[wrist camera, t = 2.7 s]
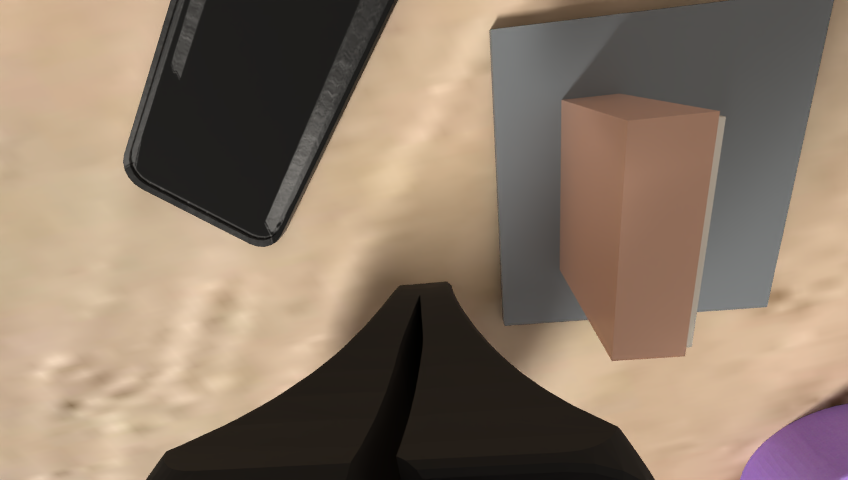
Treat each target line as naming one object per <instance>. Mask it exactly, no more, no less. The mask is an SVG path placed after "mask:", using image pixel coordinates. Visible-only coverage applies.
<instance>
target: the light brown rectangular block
mask: <svg viewBox="0 0 848 480" xmlns="http://www.w3.org/2000/svg"><path fill="white" fill-rule="evenodd" d="M725 120H726V117H725V116H720V111H717V110H711V109H705V108H699V107H694V106H688V105H682V104H677V103H671V102H665V101H660V100H654V99H648V98H642V97H637V96H631V95H625V94H611V95H602V96H593V97H584V98H574V99H565V100H561V193H560V271H561V273H562V275H563V276H564V278H565V280H566V282H567V283H568V285H569V287H570V289H571V290H572V292H573V294H574V296H575V297H576V299H577V301H578V303H579V304H580V306H581V308H582V310H583V311H584V313H585V315H586V317H587V318H588V320H589V322H590V324H591V325H592V327H593V329H594V331H595V332H596V334H597V336H598V338H599V339H600V341H601V343H602V345H603V346H604V348H605V350H606V352H607V353H608V355H609V357H610V359H611V360H612V361H618V360H633V359H649V358H665V357H680V356H685V352H686V347H692V342H693V335H694V328H695V321H696V315H697V308H698V301H699V295H700V288H701V281H702V274H703V268H704V261H705V254H706V248H707V241H708V234H709V227H710V221H711V214H712V207H713V201H714V194H715V187H716V180H717V174H718V167H719V160H720V154H721V147H722V140H723V134H724V127H725Z"/></svg>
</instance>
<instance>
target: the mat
mask: <svg viewBox="0 0 848 480" xmlns="http://www.w3.org/2000/svg"><path fill="white" fill-rule="evenodd" d="M833 2H834V0H729V1H721V2H713V3H704V4H696V5H688V6H680V7H672V8H663V9H655V10H647V11H639V12H631V13H622V14H614V15H606V16H598V17H590V18H581V19H573V20H565V21H557V22H549V23H540V24H532V25H524V26H516V27H508V28H500V29H491V30H490V51H491V72H492V94H493V115H494V137H495V158H496V179H497V201H498V222H499V244H500V265H501V286H502V308H503V321H504V325H505V326H508V325H522V324H536V323H550V322H564V321H578V320H588V318H587V317H586V315H585V313H584V311H583V310H582V308H581V306H580V304H579V303H578V301H577V299H576V297H575V296H574V294H573V292H572V290H571V289H570V287H569V285H568V283H567V282H566V280H565V278H564V276H563V275H562V273H561V271H560V193H561V100H565V99H574V98H584V97H593V96H602V95H611V94H625V95H631V96H637V97H642V98H648V99H654V100H660V101H665V102H671V103H677V104H682V105H688V106H694V107H699V108H705V109H711V110H717V111H720V116H725V117H726V120H725V127H724V134H723V140H722V147H721V154H720V160H719V167H718V174H717V180H716V187H715V194H714V201H713V207H712V214H711V221H710V227H709V234H708V241H707V248H706V254H705V261H704V268H703V274H702V281H701V288H700V295H699V301H698V308H697V312H704V311H718V310H732V309H746V308H760V307H767V304H768V300H769V295H770V291H771V286H772V281H773V277H774V272H775V268H776V263H777V259H778V254H779V249H780V245H781V240H782V236H783V231H784V227H785V222H786V217H787V213H788V208H789V204H790V199H791V195H792V190H793V185H794V181H795V176H796V172H797V167H798V162H799V158H800V153H801V149H802V144H803V140H804V135H805V130H806V126H807V121H808V117H809V112H810V108H811V103H812V98H813V94H814V89H815V85H816V80H817V75H818V71H819V66H820V62H821V57H822V53H823V48H824V43H825V39H826V34H827V30H828V25H829V21H830V16H831V11H832V7H833Z"/></svg>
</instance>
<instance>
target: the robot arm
mask: <svg viewBox="0 0 848 480" xmlns="http://www.w3.org/2000/svg"><path fill="white" fill-rule="evenodd" d="M146 480H655V479H654V478H653V476H652V474H651V473H650V471H649V470H648V468H647V467H646V465H645V464H644V462H643V461H642V459H641V458H640V456H639V455H638V453H637V452H636V450H635V449H634V448H633V446H632V445H631V443H630V442H629V441H628V439H627V438H626V436H625V435H624V434H623V432H622V431H621V430H620V428H618V427H617V426H615V425H613V424H611V423H609V422H607V421H604V420H602V419H600V418H598V417H596V416H594V415H592V414H590V413H588V412H586V411H583V410H581V409H579V408H577V407H575V406H573V405H571V404H569V403H568V402H566V401H564V400H562V399H561V398H559V397H557V396H556V395H554V394H552V393H550V392H549V391H547V390H545V389H544V388H542V387H541V386H539V385H538V384H537V383H535V382H534V381H532V380H531V379H530V378H528V377H527V376H525V375H524V374H523V373H521V372H520V371H519V370H517V369H516V368H515V367H514V366H513V365H511V364H510V363H509V362H508V361H507V360H506V359H505V358H504V357H502V356H501V355H500V354H499V353H498V352H497V351H496V350H495V349H494V348H493V347H492V346H491V345H490V344H489V343H488V341H487V340H486V339H485V338H484V337H483V336H482V335H481V333H480V332H479V331H478V330H477V329H476V327H475V326H474V325H473V323H472V322H471V321H470V319H469V318H468V316H467V315H466V314H465V312H464V311H463V309H462V308H461V306H460V304H459V302H458V301H457V299H456V297H455V295H454V293H453V290H452V286H451V285H450V284H449V283H448V282H438V283H426V284H413V285H401V286H399V287H398V288H397V289H396V290H395V291H394V293H393V294H392V295H391V296H390V297H389V299H388V300H387V301H386V302H385V304H384V305H383V306H382V307H381V308H380V310H379V311H378V312H377V313H376V314H375V315H374V317H373V318H372V319H371V320H370V321H369V322H368V323H367V324H366V326H365V327H364V328H363V329H362V330H361V331H360V332H359V333H358V334H357V335H356V336H355V337H354V338H353V339H352V340H351V341H350V342H349V343H348V344H347V345H346V346H345V347H344V348H342V349H341V350H340V351H339V352H338V353H337V354H336V355H334V356H333V357H332V358H331V359H330V360H328V361H327V362H326V363H325V364H323V365H322V366H321V367H320V368H318V369H317V370H316V371H314V372H313V373H312V374H310V375H309V376H307V377H306V378H304V379H303V380H301V381H300V382H298V383H297V384H295V385H294V386H292V387H291V388H289V389H288V390H286V391H285V392H283V393H282V394H280V395H279V396H277V397H276V398H274V399H272V400H270V401H269V402H267V403H265V404H264V405H262V406H260V407H258V408H257V409H255V410H253V411H251V412H249V413H247V414H245V415H244V416H242V417H240V418H238V419H236V420H234V421H232V422H230V423H228V424H226V425H224V426H222V427H220V428H218V429H216V430H213V431H211V432H209V433H207V434H205V435H203V436H200V437H198V438H196V439H194V440H192V441H189V442H187V443H185V444H183V445H181V446H178V447H176V448H174V449H171V450H169V451H166V453H165V454H164V455H163V457H162V458H161V459H160V461H159V462H158V463H157V465H156V466H155V468H154V469H153V471H152V472H151V473H150V475H149V476H148V478H147V479H146Z"/></svg>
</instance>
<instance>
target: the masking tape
mask: <svg viewBox="0 0 848 480" xmlns="http://www.w3.org/2000/svg"><path fill="white" fill-rule="evenodd" d="M740 480H848V404H843V405H838V406H834V407H830V408H826V409H823V410H820V411H817V412H814V413H812V414H809V415H807V416H805V417H802V418H800V419H798V420H796V421H794V422H792V423H790V424H789V425H787V426H785V427H784V428H782V429H781V430H779V431H778V432H776V433H775V434H774V435H772V436H771V437H770V438H769V439H767V440H766V441H765V442H764V443H763V444H762V445H761V446H760V447H759V448H758V449H757V450H756V451H755V453H754V454H753V455H752V456H751V458H750V459H749V461H748V462H747V464H746V466H745V468H744V470H743V472H742V475H741V478H740Z"/></svg>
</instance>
